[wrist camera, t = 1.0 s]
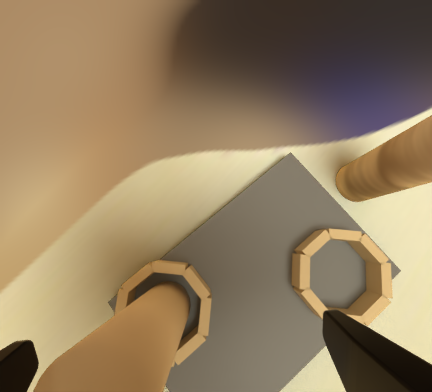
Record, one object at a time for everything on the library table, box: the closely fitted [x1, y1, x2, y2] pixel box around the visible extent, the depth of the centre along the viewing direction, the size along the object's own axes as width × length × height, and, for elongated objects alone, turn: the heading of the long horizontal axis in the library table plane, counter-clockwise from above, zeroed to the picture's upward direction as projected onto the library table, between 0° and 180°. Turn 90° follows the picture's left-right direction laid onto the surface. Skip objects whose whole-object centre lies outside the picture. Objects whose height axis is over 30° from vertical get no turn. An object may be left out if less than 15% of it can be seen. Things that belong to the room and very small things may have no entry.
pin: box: [336, 115, 432, 202], centre depth 18 cm, size 4×4×13 cm
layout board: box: [33, 152, 401, 392], centre depth 15 cm, size 15×22×14 cm
